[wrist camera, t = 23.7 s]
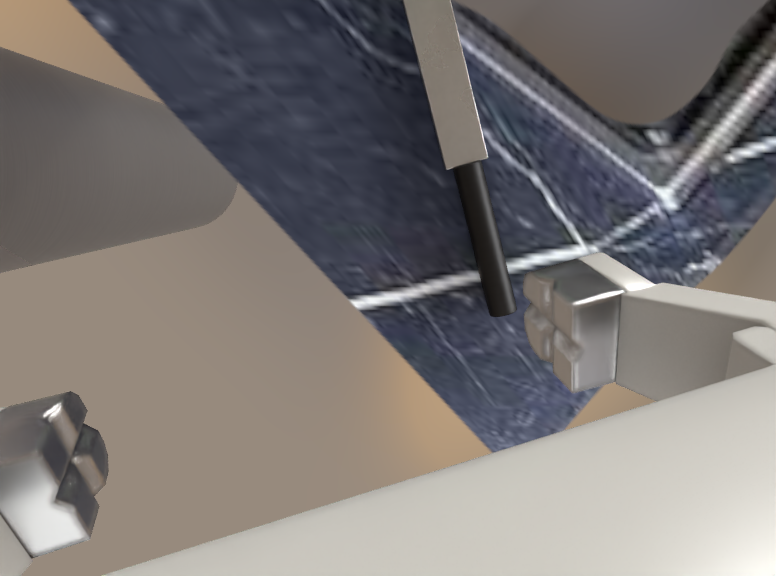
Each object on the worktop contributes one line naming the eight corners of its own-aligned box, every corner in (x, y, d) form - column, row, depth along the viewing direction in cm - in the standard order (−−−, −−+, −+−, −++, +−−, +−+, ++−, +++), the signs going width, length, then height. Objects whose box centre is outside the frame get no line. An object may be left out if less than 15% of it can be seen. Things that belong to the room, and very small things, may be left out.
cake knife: (520, 304, 41) (526, 310, 39) (481, 314, 41) (485, 321, 39) (435, -49, 36) (438, -63, 34) (392, -36, 36) (392, -48, 34)
